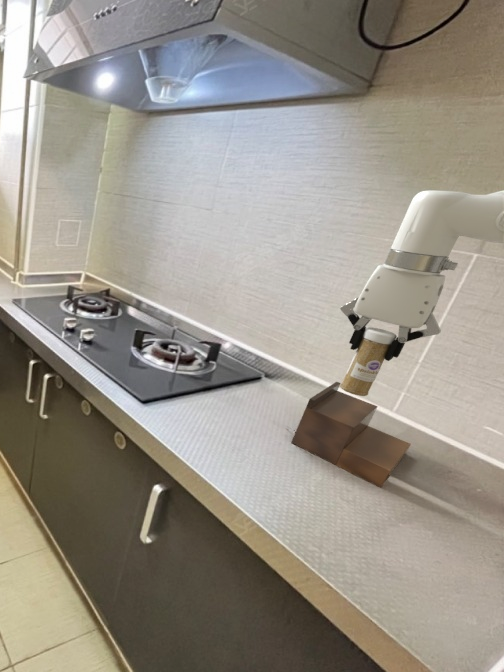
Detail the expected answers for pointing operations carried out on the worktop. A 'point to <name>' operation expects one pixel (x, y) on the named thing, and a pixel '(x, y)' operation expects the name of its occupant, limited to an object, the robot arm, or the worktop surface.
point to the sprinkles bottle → (367, 361)
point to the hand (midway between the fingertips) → (371, 352)
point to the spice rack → (348, 436)
